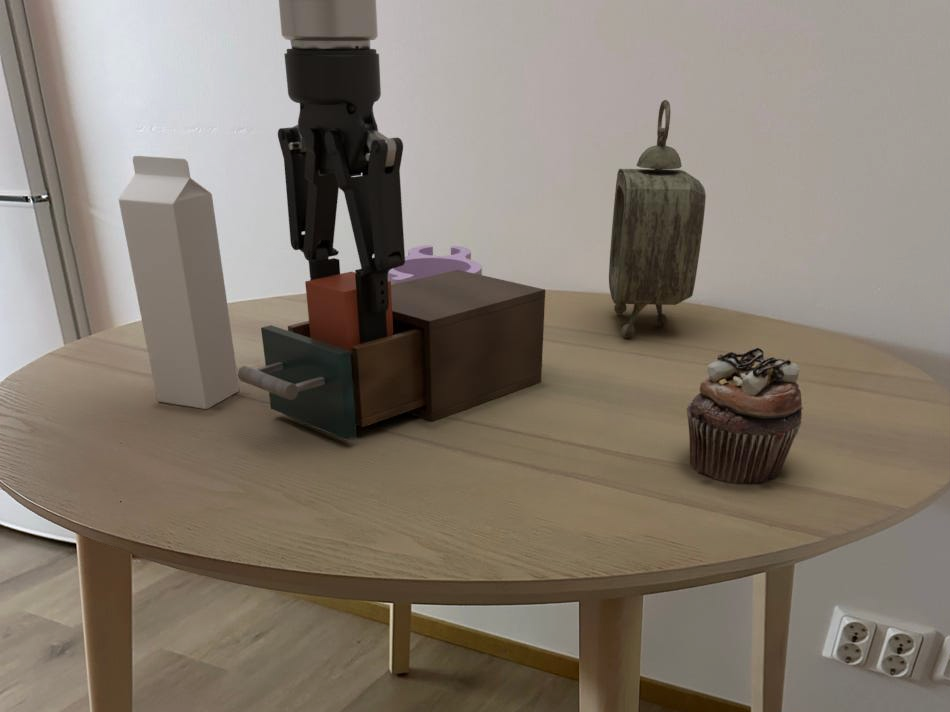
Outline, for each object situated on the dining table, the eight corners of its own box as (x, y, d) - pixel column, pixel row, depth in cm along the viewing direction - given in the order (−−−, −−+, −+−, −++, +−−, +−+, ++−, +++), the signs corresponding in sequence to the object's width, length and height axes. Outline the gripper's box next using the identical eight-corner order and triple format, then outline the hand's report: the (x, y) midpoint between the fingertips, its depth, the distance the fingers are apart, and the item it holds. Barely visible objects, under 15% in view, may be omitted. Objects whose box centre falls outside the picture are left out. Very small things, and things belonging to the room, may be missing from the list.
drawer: (307, 454, 80) (297, 365, 76) (231, 421, 87) (218, 337, 83) (465, 398, 93) (465, 318, 88) (388, 372, 99) (385, 297, 95)
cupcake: (812, 466, 81) (837, 352, 76) (752, 498, 76) (775, 379, 70) (719, 436, 87) (737, 328, 81) (657, 464, 81) (672, 351, 76)
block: (310, 342, 86) (304, 281, 83) (355, 330, 90) (351, 271, 87) (348, 355, 83) (344, 291, 80) (393, 342, 87) (391, 281, 84)
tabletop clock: (605, 311, 124) (623, 95, 110) (672, 312, 124) (699, 96, 110) (613, 342, 112) (635, 104, 98) (688, 344, 112) (721, 106, 98)
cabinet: (431, 422, 90) (429, 321, 84) (347, 391, 97) (340, 296, 91) (541, 381, 100) (545, 289, 94) (457, 356, 107) (457, 269, 101)
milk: (192, 384, 98) (153, 151, 86) (241, 391, 96) (208, 155, 84) (156, 402, 93) (109, 158, 81) (206, 410, 92) (166, 162, 79)
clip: (398, 297, 129) (396, 244, 125) (487, 299, 128) (488, 246, 124) (375, 338, 112) (371, 279, 108) (477, 341, 112) (477, 281, 108)
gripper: (446, 47, 70) (450, 351, 83) (297, 41, 81) (321, 313, 94) (372, 48, 66) (388, 370, 79) (224, 43, 76) (260, 328, 89)
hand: (352, 339), depth 86 cm, fingers closed on block, 5 cm apart
